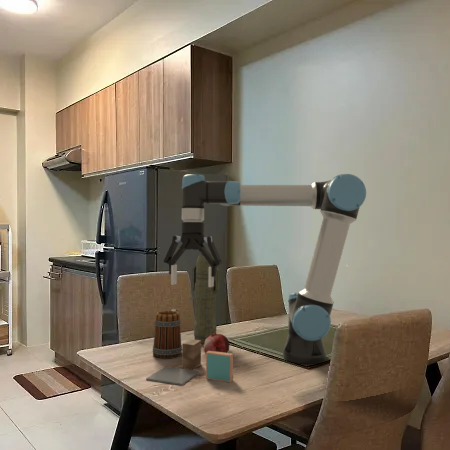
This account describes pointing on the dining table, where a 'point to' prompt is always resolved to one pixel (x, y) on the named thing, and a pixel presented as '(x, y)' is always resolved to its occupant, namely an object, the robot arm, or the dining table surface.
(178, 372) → the coaster
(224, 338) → the fruit
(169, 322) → the mug
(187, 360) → the push block
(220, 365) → the tile
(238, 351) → the dining table surface
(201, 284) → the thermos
